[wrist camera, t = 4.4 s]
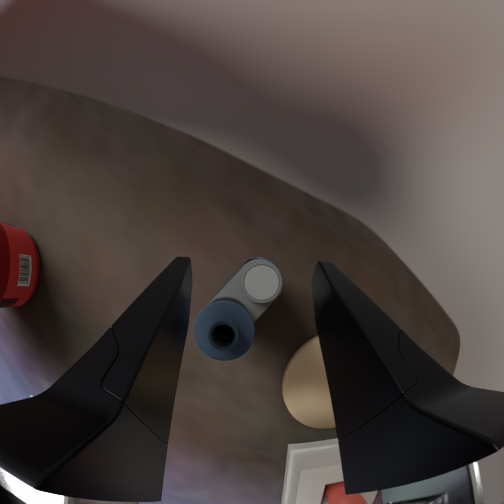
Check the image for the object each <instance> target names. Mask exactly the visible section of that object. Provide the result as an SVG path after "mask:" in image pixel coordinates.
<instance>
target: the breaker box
mask: <svg viewBox="0 0 504 504" xmlns="http://www.w3.org/2000/svg"><path fill="white" fill-rule="evenodd" d="M341 481H344V480H343V472H342V465H341V458H340V451H339V445H338V438H335V439H329V440H322V441H315V442H307V443H298V444H288V452H287V461H286V470H285V478H284V486H283V493H282V501H281V504H329V503H328V501H327V499H326V497H325V495H324V493H323V492H324V488H325V485H326V484H331V483H336V482H341ZM360 494H361V495H362V497H363V498H364V499H365V501H366V502H367V504H372V503H373V501H374V499H375V496H376V494H377V491H372V492H366V493H360Z"/></svg>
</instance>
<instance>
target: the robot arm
mask: <svg viewBox="0 0 504 504" xmlns="http://www.w3.org/2000/svg"><path fill="white" fill-rule="evenodd" d="M191 291H192V270H191V260H190V258H189V257H176V258H175V259H174V260H173V261H172V262H171V263H170V264H169V265H168V266H167V267H166V268H165V269H164V270H163V271H162V272H161V273H160V275H159V276H158V277H157V278H156V279H155V280H154V281H153V282H152V283H151V284H150V285H149V286H148V287H147V288H146V289H145V290H144V291H143V292H142V293H141V294H140V295H139V296H138V298H137V299H136V300H135V301H134V302H133V303H132V304H131V305H130V306H129V307H128V308H127V309H126V310H125V312H124V313H123V314H122V315H121V316H120V317H119V318H118V319H117V320H116V321H115V323H114V324H113V325H112V328H111V327H110V328H109V329H108V330H107V331H106V332H105V334H104V335H103V336H102V337H101V338H100V339H99V340H98V341H97V342H96V343H95V344H94V345H93V347H92V348H91V349H90V350H89V351H88V352H87V353H86V354H84V355H83V356H82V357H81V358H80V359H79V360H78V361H77V362H76V363H75V364H74V365H73V366H72V367H71V368H70V369H69V370H68V371H67V372H66V373H65V374H64V375H62V376H61V377H60V378H59V379H58V380H57V381H56V382H55V383H54V384H53V385H52V386H51V387H50V388H48V389H47V390H46V391H44V392H42V393H41V394H39V395H36V396H34V397H30V398H26V399H22V400H18V401H14V402H10V403H6V404H2V405H0V504H139V502H156V501H161V497H162V488H163V479H164V470H165V462H166V454H167V447H168V445H167V444H168V439H169V432H170V426H171V419H172V413H173V407H174V401H175V395H176V389H177V383H178V377H179V372H180V367H181V361H182V356H183V351H184V346H185V341H186V336H187V330H188V324H189V314H190V302H191ZM312 292H313V301H314V311H315V320H316V328H317V333H318V338H319V342H320V347H321V352H322V357H323V361H324V366H325V371H326V376H327V381H328V387H329V392H330V397H331V403H332V408H333V414H334V420H335V426H336V432H337V438H338V445H339V451H340V458H341V465H342V472H343V480H344V488H345V494H346V495H349V494H358V493H366V492H372V491H379V490H381V496H382V504H504V392H500V391H493V390H487V389H480V388H475V387H471V386H467V385H465V384H463V383H461V382H460V381H458V380H457V379H456V378H455V377H454V376H452V375H451V374H450V373H449V372H448V371H447V370H446V369H445V368H443V367H442V366H441V365H440V364H439V363H438V362H437V361H435V360H434V359H433V358H432V357H431V356H430V355H429V354H427V353H426V352H425V351H424V350H423V349H422V348H421V347H420V346H419V345H418V344H417V343H416V342H415V341H413V340H412V339H411V338H410V337H409V336H408V335H407V334H406V333H405V332H404V331H403V330H402V329H400V327H399V326H398V325H397V324H396V323H395V322H394V321H393V320H392V319H391V318H390V317H389V316H388V315H387V314H386V313H385V312H384V311H383V310H382V309H381V308H380V307H379V306H378V305H377V304H376V303H375V302H374V301H373V300H372V299H370V298H369V297H368V296H367V295H366V294H365V293H364V292H363V291H362V290H361V289H360V288H359V287H358V286H357V285H356V284H355V283H353V282H352V281H351V280H350V279H349V278H348V277H347V276H346V275H345V274H344V273H343V272H342V271H340V270H339V269H338V268H337V267H336V266H335V265H334V264H333V263H332V262H330V261H319V262H318V263H317V265H316V268H315V272H314V275H313V279H312Z"/></svg>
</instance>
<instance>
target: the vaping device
mask: <svg viewBox="0 0 504 504" xmlns="http://www.w3.org/2000/svg"><path fill="white" fill-rule="evenodd" d="M283 283H284V281H283V275H282V273H281V271H280V269H279V268H278V266H277V265H276V264H275V263H273V262H272V261H271V260H269V259H266V258H263V257H255V258H251V259H249V260H248V261H247V262H245V263H244V265H243V266H242V267H241V268H240V269H239V270H238V271H237V272H236V273H235V274H234V276H233V277H232V278H231V279H230V280H229V281H228V282H227V283H226V284H225V285H224V287H223V288H222V289H221V290H220V291H219V292H218V293H217V294H216V295H215V296H214V297H213V299H212V300H211V302H210V303H209V304H208V305H207V306H206V307H205V308H204V309H203V310H201V312H200V313H199V314H198V316H197V318H196V320H195V323H194V337H195V341H196V343H197V345H198V346H199V348H200V349H201V350H202V351H203V352H204V353H205V354H206V355H208V356H209V357H211V358H214V359H217V360H223V361H224V360H233V359H236V358H238V357H240V356H242V355H243V354H244V353H246V352H247V351H248V349H249V348H250V347H251V345H252V343H253V340H254V336H255V327H254V322H255V321H256V320H257V319H258V318H259V317H260V316H261V314H262V313H263V312H264V311H265V310H266V309H267V308H268V307H269V306H270V305H271V304H272V303H273V301H274V300H275V299H276V298H277V297H278V296H279V295H280V293H281V291H282V289H283Z"/></svg>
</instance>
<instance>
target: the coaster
mask: <svg viewBox="0 0 504 504" xmlns="http://www.w3.org/2000/svg"><path fill="white" fill-rule="evenodd" d="M282 396H283V399H284V402H285V404H286V406H287V408H288V410H289V412H290V413H291V414H292V416H293V417H294V418H295V419H296V420H298V421H299V422H301V423H302V424H304V425H306V426H309V427H312V428H318V429H327V428H334V427H336V426H335V420H334V414H333V408H332V403H331V397H330V392H329V387H328V381H327V376H326V371H325V366H324V361H323V357H322V352H321V347H320V342H319V338H318V335H317V336H315V337H313V338H311V339H310V340H308V341H307V342H305V343H304V344H303V345H302V346H301V347H299V348H298V349H297V351H296V352H295V353H294V354H293V355H292V357H291V358H290V360H289V362H288V363H287V365H286V368H285V370H284V373H283V377H282Z"/></svg>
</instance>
